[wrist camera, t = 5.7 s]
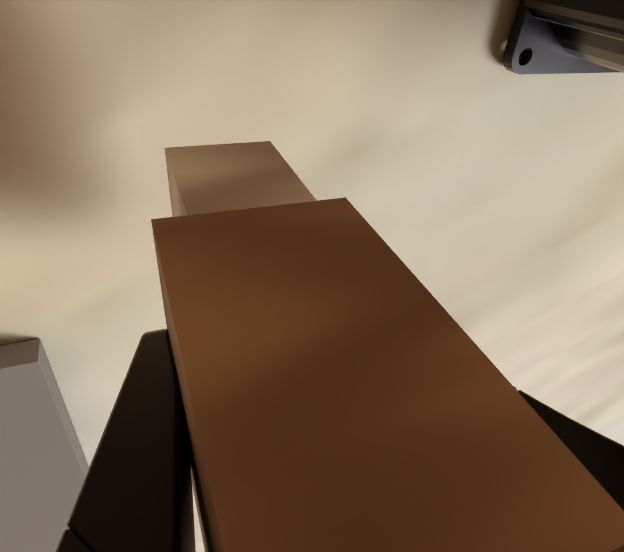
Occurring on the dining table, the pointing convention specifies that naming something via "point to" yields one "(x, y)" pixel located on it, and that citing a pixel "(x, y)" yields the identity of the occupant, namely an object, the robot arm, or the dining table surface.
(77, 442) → the rest mat
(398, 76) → the dining table surface
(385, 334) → the brown wooden block
